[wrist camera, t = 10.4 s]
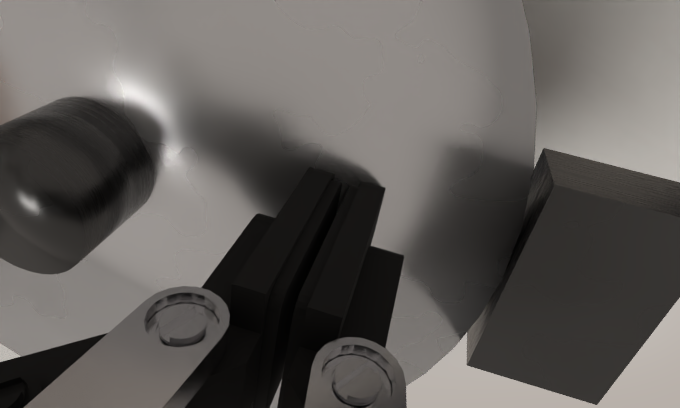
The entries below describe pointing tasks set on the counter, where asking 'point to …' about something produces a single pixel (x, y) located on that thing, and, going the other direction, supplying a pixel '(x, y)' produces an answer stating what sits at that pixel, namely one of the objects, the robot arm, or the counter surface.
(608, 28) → the counter surface
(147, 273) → the lid
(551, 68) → the counter surface
